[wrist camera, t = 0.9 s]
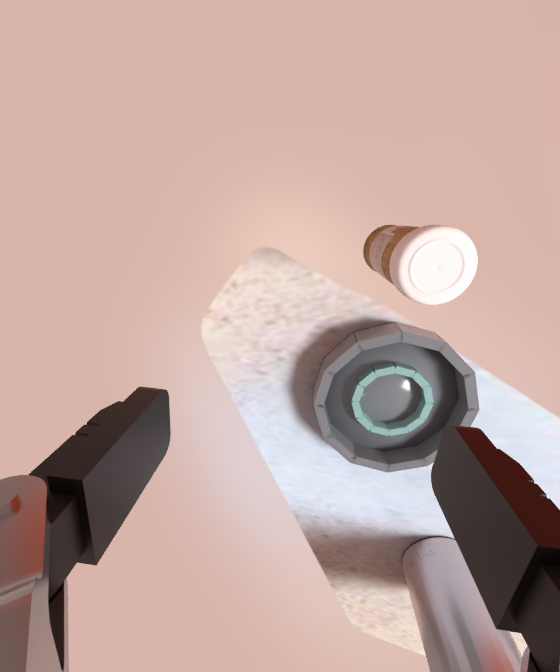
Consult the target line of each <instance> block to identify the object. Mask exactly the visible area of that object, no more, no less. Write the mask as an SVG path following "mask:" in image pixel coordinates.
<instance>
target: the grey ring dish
mask: <svg viewBox="0 0 560 672" xmlns="http://www.w3.org/2000/svg"><path fill="white" fill-rule="evenodd" d="M313 402H314V409H315V413H316V416H317V419H318V423H319V426H320V429H321V433H322V436H323V439H324V440H325V441H326V442H327V443H329V444H330V445H331V446H332V447H333V448H334V449H335V450H336V451H338V452H339V453H340V454H341V455H342V456H343V457H344V458H346V459H347V460H348V461H349V462H351V463H353V464H357V465H361V466H365V467H369V468H373V469H377V470H380V471H384V472H393V471H399V470H406V469H412V468H418V467H424V466H427V465H430V464H431V463H433V462H434V461H435V457H436V454H437V451H438V447H439V444H440V441H441V438H442V434H443V431H444V429H445V427H446V426H447V425H457V426H466V427H470V426H471V424H472V423H473V421H474V419H475V417H476V415H477V413H478V411H479V403H478V394H477V386H476V378H475V372H474V371H473V370H472V369H471V368H470V367H469V366H468V365H467V363H466V362H465V361H464V360H463V359H462V358H461V357H460V356H459V355H458V354H457V353H456V352H455V351H454V350H453V349H452V348H451V347H450V346H449V345H448V344H447V343H446V342H445V341H444V340H443V339H442V338H441V337H440V336H438V335H437V334H436V333H435V332H432V331H428V330H424V329H420V328H416V327H412V326H408V325H404V324H400V323H396V322H395V323H394V322H393V323H389V324H384V325H380V326H376V327H372V328H368V329H364V330H360V331H356V332H354V333H352V334H350V335H349V336H348V337H347V338H346V339H345V340H344V341H343V342H341V343H340V344H339V345H338V346H337V347H336V348H335V349H334V350H332V351H331V352H330V353H329V354H328V355H327V356H326V357H325V358H324V359H323V362H322V365H321V368H320V372H319V375H318V378H317V381H316V384H315V388H314V391H313Z"/></svg>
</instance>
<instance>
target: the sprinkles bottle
mask: <svg viewBox="0 0 560 672" xmlns="http://www.w3.org/2000/svg"><path fill="white" fill-rule="evenodd" d="M363 251H364V258H365V261H366V263H367V264H368V266H369V267H370V268H371V269H373V270H374V271H376V272H378V273H379V274H380V275H382V276H383V277H384V278H385V279H386V280H388V281H389V282H390V283H392V284H393V285H395V286H396V288H397V289H398V290H399V291H400V292H401V293H402V294H403V295H405V296H406V297H407V298H409V299H411V300H413V301H414V302H417V303H420V304H425V305H437V304H442V303H445V302H448V301H450V300H452V299H454V298H455V297H457V296H458V295H460V294H461V293H462V292H463V291H464V290H465V289H466V288H467V287H468V286H469V284H470V283H471V281H472V279H473V278H474V275H475V272H476V269H477V261H478V257H477V251H476V249H475V246H474V244H473V242H472V240H471V239H470V238H469V237H468V236H467V235H466V234H465V233H464V232H462V231H461V230H459V229H457V228H454V227H450V226H442V225H429V226H423V227H412V226H395V225H385V226H382V227H379V228H377V229H376V230H374V231H373V232H372V233H371V234H370V235H369V237H368V238H367V240H366V242H365V245H364V250H363Z"/></svg>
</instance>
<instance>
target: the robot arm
mask: <svg viewBox="0 0 560 672" xmlns="http://www.w3.org/2000/svg"><path fill="white" fill-rule="evenodd" d="M169 442H170V411H169V395H168V392H167V390H164V389H156V388H148V387H139V388H137V389H136V390H135V391H134V392H133V393H132V394H131V395H130V396H129V397H128V398H127V399H126V400H125V401H124V402H119V401H118V402H116V403H114V404H112V405H110V406H108V407H106V408H104V409H102V410H100V411H99V412H98V413H97V414H96V415H95V416H93V417H92V418H91V419H90V420H89V421H88V422H87V424H86V425H84V426H82V427H81V428H80V429H79V430H78V431H77V432H76V434H75V435H72V436H71V437H70V438H69V439H68V440H67V441H66V442H64V443H63V444H62V445H61V446H60V447H59V448H58V449H57V450H55V451H54V452H53V453H52V454H51V455H50V456H49V457H48V458H47V459H45V460H44V461H43V462H42V463H41V464H40V465H39V466H38V467H36V468H35V469H34V470H33V471H32V472H31V473H30V474H29V475H19V476H12V477H8V478H4V479H1V480H0V672H69V671H68V670H69V668H68V593H67V592H68V588H67V580H66V577H67V576H68V575H69V573H70V571H71V570H72V569H73V567H74V566H75V564H76V563H77V562H78V563H84V564H91V565H97V563H98V562H99V560H100V559H101V557H102V555H103V554H104V552H105V551H106V549H107V547H108V546H109V544H110V543H111V541H112V539H113V538H114V536H115V535H116V533H117V531H118V530H119V528H120V527H121V525H122V523H123V522H124V520H125V519H126V517H127V515H128V514H129V512H130V511H131V509H132V507H133V506H134V504H135V503H136V501H137V499H138V498H139V496H140V494H141V493H142V491H143V490H144V488H145V487H146V485H147V483H148V482H149V480H150V479H151V477H152V475H153V474H154V472H155V471H156V469H157V467H158V466H159V464H160V463H161V461H162V459H163V458H164V456H165V454H166V452H167V450H168V446H169ZM431 482H432V488H433V491H434V494H435V496H436V498H437V500H438V503H439V505H440V507H441V509H442V511H443V514H444V516H445V518H446V520H447V522H448V524H449V527H450V529H451V531H452V533H453V535H454V538H455V540H453V539H450V538H443V537H435V538H428V539H424V540H421V541H419V542H417V543H415V544H413V545H412V546H411V547H409V548H408V550H407V551H406V552H405V554H404V556H403V559H402V567H403V570H404V574H405V578H406V582H407V586H408V589H409V593H410V597H411V601H412V605H413V609H414V612H415V616H416V620H417V623H418V627H419V631H420V635H421V638H422V642H423V646H424V650H425V653H426V657H427V660H428V665H429V668H430V672H560V510H559V509H558V508H557V507H556V505H555V504H554V503H553V502H552V501H551V500H550V499H548V498H547V497H546V494H545V493H544V491H543V490H542V489H541V488H540V487H539V486H538V485H537V484H534V480H533V479H532V478H531V476H530V475H529V474H528V473H527V472H526V471H525V469H524V468H523V467H522V466H521V465H520V464H519V463H518V462H516V461H515V460H514V459H512V458H511V457H510V456H508V455H507V454H506V453H504V452H503V451H501V450H500V449H496V447H495V446H494V445H493V444H492V442H491V441H490V440H489V439H488V438H487V436H486V435H485V434H484V433H483V431H482V430H480V429H479V428H474V427H466V426H457V425H447V426H446V427H445V429H444V431H443V434H442V438H441V441H440V444H439V447H438V451H437V454H436V457H435V461H434V464H433V467H432V472H431ZM510 631H511V632H518V633H521V634H522V635H523V637H524V639H525V641H526V643H527V645H528V646H527V648H526V650H525V651H524V653H523V657H522V656H521V654H520V652H519V650H518V648H517V645H516V643H515V641H514V639H513V637H512V635H511V633H510Z"/></svg>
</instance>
